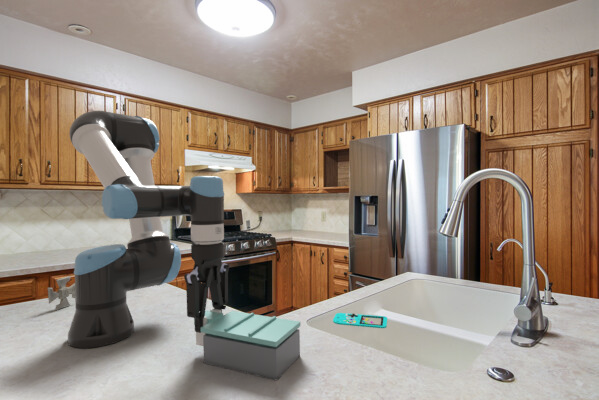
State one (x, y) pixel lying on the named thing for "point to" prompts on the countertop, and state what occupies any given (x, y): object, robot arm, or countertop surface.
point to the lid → (249, 327)
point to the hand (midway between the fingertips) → (209, 340)
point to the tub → (252, 355)
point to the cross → (62, 293)
